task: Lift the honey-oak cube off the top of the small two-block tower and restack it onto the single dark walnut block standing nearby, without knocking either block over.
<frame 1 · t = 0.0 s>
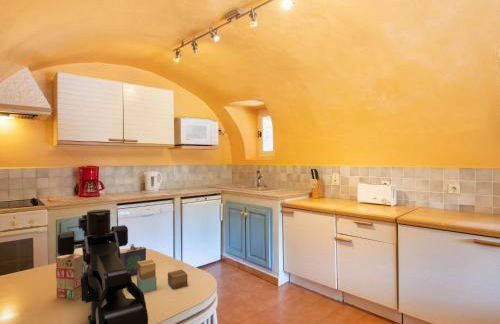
hand: (91, 233, 96), 17 cm above the table, tool horizontal, fingers open, 9 cm apart
stack of blocks: (91, 284, 97), on the table
tower base: (146, 289, 93), on the table, touching oak cube
walnut block: (177, 285, 96), on the table
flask: (132, 275, 104), on the table
oak cube: (146, 276, 93), point 4 cm above the table, touching tower base
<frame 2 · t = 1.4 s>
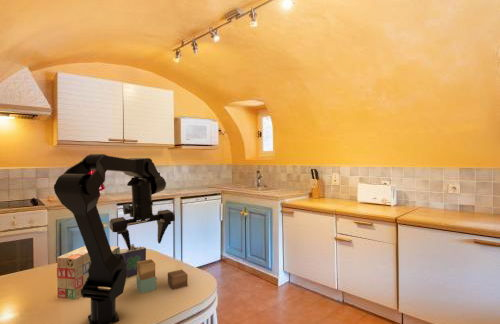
hand: (144, 246, 94), 13 cm above the table, tool pointing down, fingers open, 9 cm apart
nothing on the table moved.
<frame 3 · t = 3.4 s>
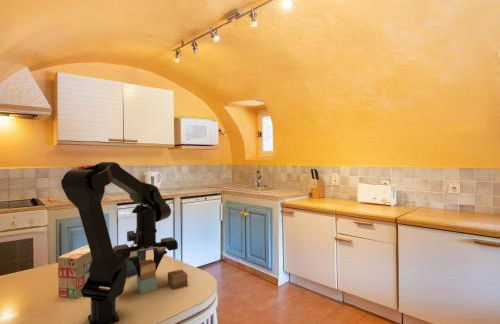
hand: (146, 274, 93), 4 cm above the table, tool pointing down, fingers closed on oak cube, 4 cm apart
tower base: (146, 289, 93), on the table
oak cube: (146, 276, 93), point 4 cm above the table, touching gripper
everything else where it was.
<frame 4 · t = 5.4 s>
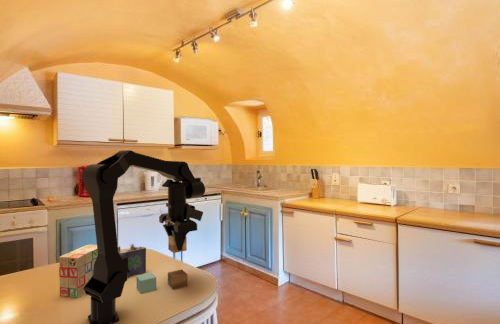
hand: (177, 248, 96), 12 cm above the table, tool pointing down, fingers closed on oak cube, 4 cm apart
oak cube: (177, 249, 96), point 11 cm above the table, touching gripper
everything else where it was.
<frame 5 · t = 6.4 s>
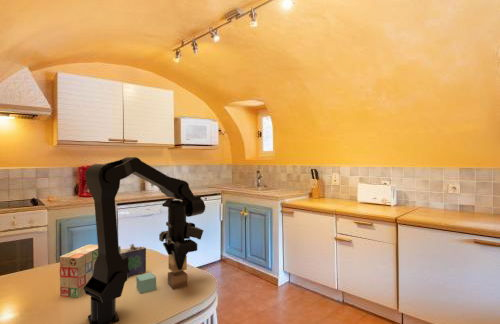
hand: (177, 267, 96), 6 cm above the table, tool pointing down, fingers closed on oak cube, 4 cm apart
oak cube: (177, 268, 96), point 5 cm above the table, touching gripper
when the fingers open (6 cm above the table, at t = 7.2 s): oak cube drops 1 cm, point 4 cm above the table.
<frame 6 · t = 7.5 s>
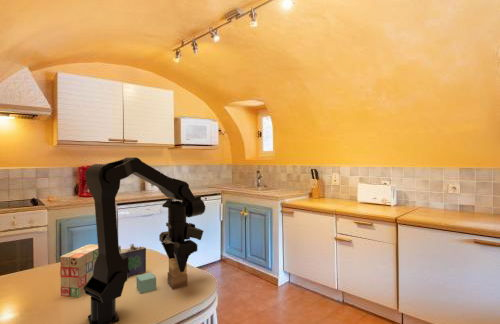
hand: (177, 267, 96), 6 cm above the table, tool pointing down, fingers open, 8 cm apart
oak cube: (177, 273, 96), point 4 cm above the table
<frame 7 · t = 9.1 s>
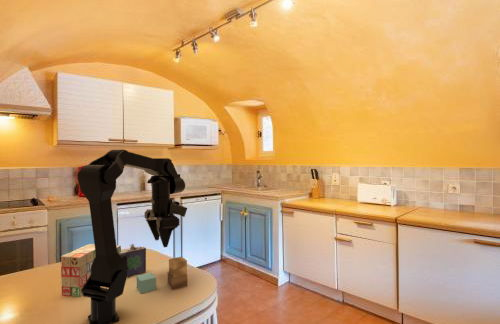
hand: (161, 243, 97), 13 cm above the table, tool pointing down, fingers open, 9 cm apart
walnut block: (177, 285, 96), on the table, touching oak cube
oak cube: (177, 273, 96), point 4 cm above the table, touching walnut block
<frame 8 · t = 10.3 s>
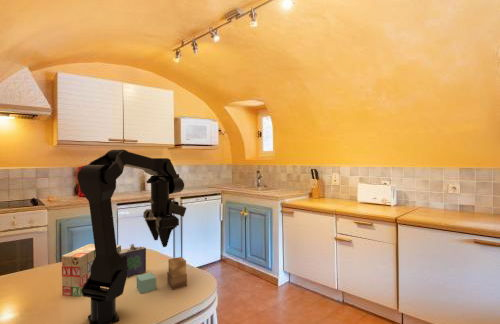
hand: (160, 243, 98), 13 cm above the table, tool pointing down, fingers open, 9 cm apart
walnut block: (177, 285, 96), on the table
oak cube: (177, 273, 96), point 4 cm above the table
at the end: oak cube 0.2 cm off-centre on the walnut block, point 4.0 cm above the walnut block's base; oak cube tilted 0°; tower base moved 0.2 cm from its start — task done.
